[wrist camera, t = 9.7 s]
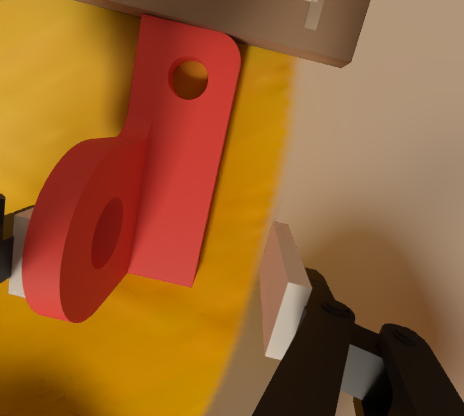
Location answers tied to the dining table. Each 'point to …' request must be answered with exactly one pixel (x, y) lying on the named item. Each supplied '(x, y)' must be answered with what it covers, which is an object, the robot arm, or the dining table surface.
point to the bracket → (135, 181)
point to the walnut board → (266, 23)
